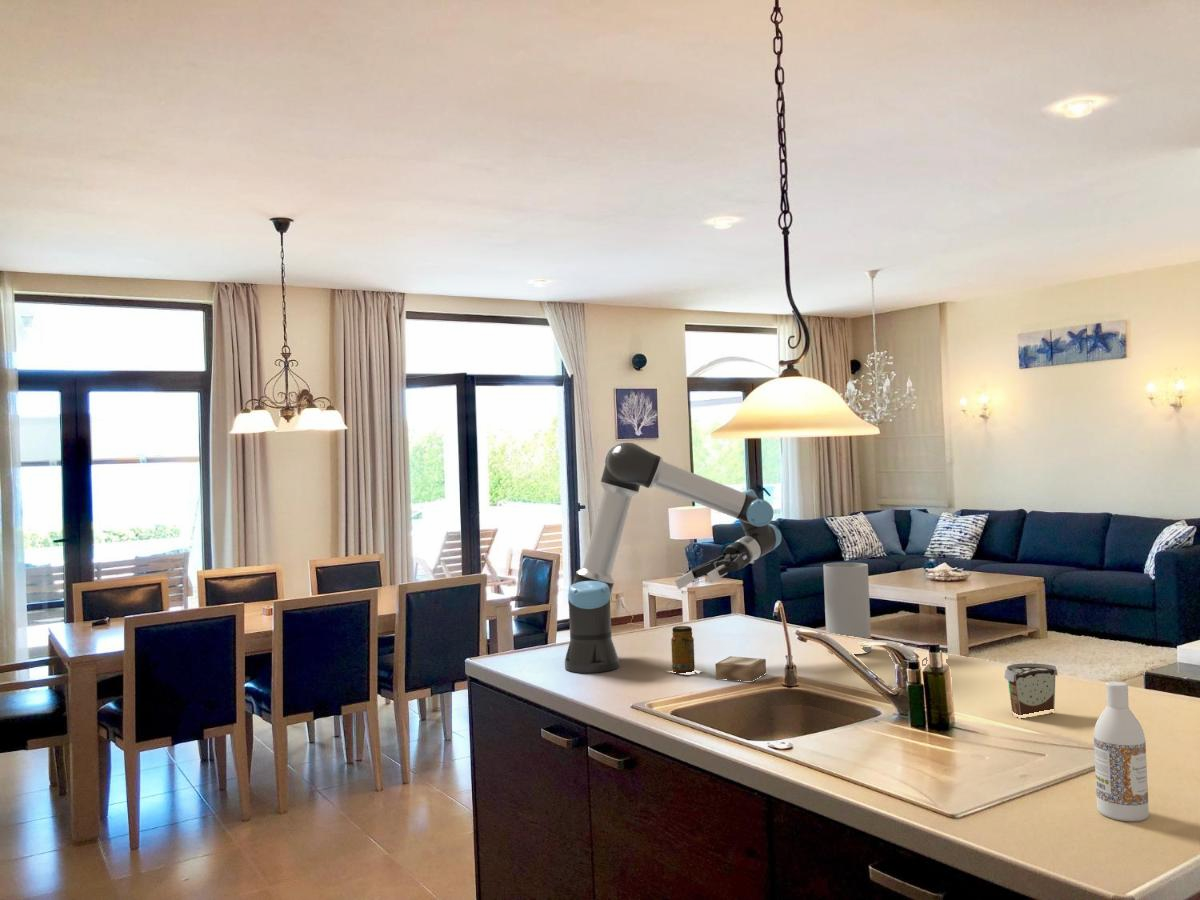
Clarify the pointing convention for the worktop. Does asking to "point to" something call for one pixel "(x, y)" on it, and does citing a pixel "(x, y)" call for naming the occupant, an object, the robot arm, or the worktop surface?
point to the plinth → (740, 668)
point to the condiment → (682, 649)
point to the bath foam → (1120, 759)
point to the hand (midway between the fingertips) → (693, 581)
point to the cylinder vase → (847, 600)
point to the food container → (1031, 687)
